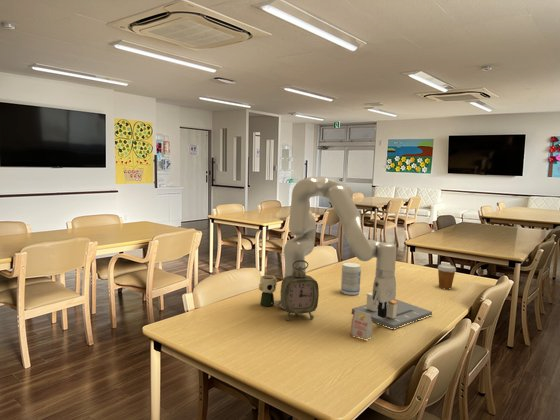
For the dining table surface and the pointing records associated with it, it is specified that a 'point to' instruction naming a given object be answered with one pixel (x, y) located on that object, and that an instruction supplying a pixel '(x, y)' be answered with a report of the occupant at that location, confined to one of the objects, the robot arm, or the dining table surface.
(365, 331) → the tea bag
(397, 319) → the panel
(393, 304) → the fader orange
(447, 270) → the disposable coffee cup
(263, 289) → the character mug
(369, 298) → the fader cream
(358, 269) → the supplement tub
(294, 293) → the tabletop clock
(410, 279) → the dining table surface
